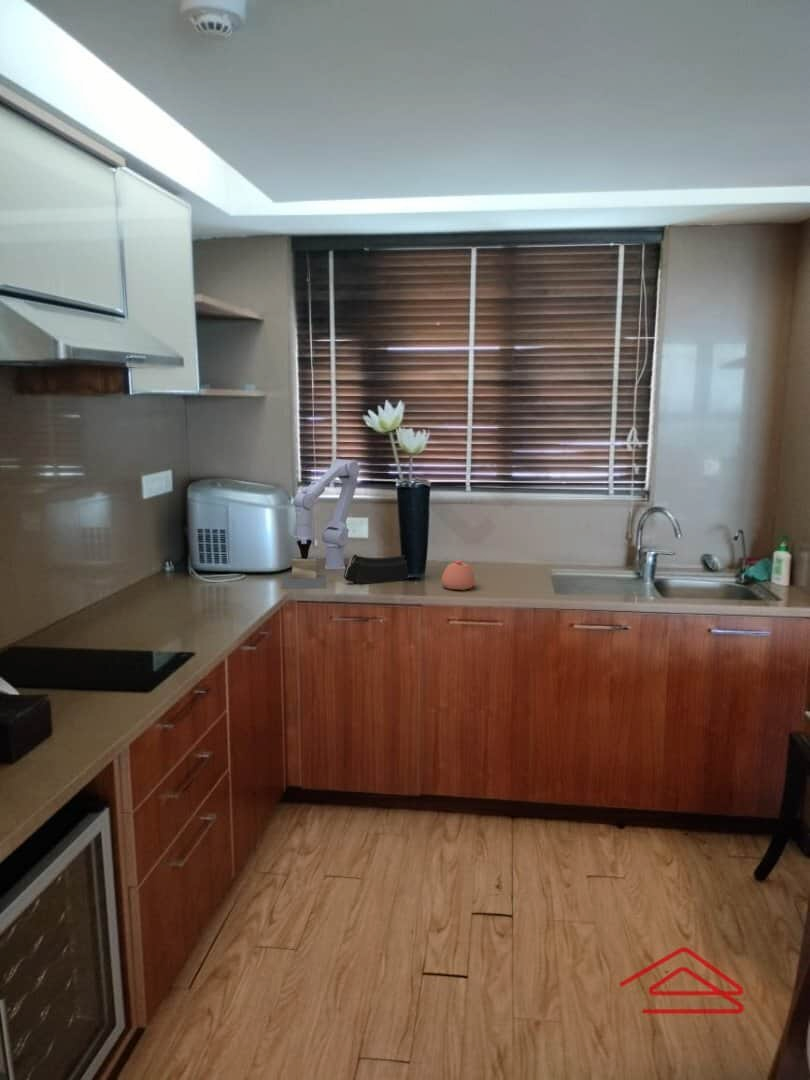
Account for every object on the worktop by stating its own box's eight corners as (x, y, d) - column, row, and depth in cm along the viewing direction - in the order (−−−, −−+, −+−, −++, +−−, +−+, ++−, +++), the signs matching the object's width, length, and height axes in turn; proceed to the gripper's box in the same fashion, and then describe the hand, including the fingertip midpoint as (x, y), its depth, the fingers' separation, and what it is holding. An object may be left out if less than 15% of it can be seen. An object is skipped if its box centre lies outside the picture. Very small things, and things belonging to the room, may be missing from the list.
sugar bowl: (437, 590, 267) (437, 562, 265) (447, 582, 280) (448, 555, 278) (470, 593, 263) (471, 565, 261) (479, 584, 276) (480, 557, 274)
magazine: (423, 553, 287) (354, 536, 273) (427, 555, 284) (357, 537, 270) (411, 596, 288) (341, 581, 274) (414, 598, 285) (344, 583, 271)
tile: (292, 577, 283) (292, 559, 282) (316, 576, 284) (316, 558, 283) (292, 578, 281) (292, 560, 280) (316, 578, 282) (316, 560, 281)
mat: (283, 575, 286) (283, 575, 286) (325, 575, 288) (325, 574, 288) (281, 589, 265) (281, 588, 265) (326, 588, 267) (326, 588, 267)
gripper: (294, 521, 294) (294, 555, 296) (293, 527, 279) (293, 562, 282) (312, 521, 294) (312, 555, 297) (312, 527, 280) (312, 562, 283)
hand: (304, 558), depth 289 cm, fingers closed
